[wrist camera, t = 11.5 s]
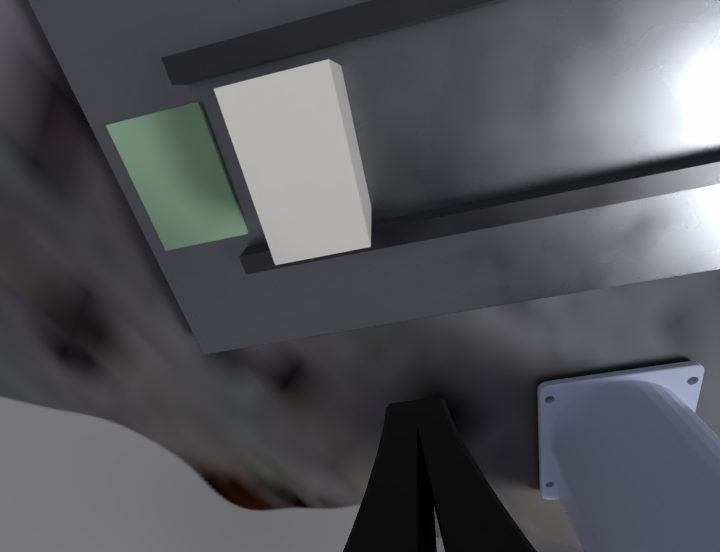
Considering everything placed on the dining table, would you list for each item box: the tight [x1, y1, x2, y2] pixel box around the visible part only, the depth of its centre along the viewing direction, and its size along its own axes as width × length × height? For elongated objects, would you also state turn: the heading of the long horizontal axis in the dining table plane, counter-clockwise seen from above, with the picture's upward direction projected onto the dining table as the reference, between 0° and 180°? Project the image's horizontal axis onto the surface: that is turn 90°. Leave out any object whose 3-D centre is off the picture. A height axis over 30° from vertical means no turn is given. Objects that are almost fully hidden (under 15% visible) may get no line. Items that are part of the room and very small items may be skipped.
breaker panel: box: [28, 0, 720, 354], centre depth 14 cm, size 16×28×2 cm, turn 103°
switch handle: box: [214, 59, 371, 265], centre depth 12 cm, size 5×3×4 cm, turn 12°
